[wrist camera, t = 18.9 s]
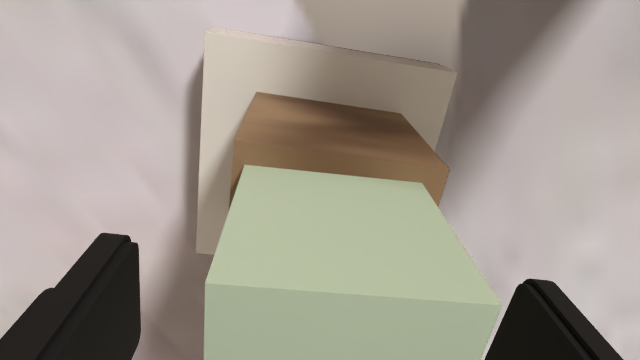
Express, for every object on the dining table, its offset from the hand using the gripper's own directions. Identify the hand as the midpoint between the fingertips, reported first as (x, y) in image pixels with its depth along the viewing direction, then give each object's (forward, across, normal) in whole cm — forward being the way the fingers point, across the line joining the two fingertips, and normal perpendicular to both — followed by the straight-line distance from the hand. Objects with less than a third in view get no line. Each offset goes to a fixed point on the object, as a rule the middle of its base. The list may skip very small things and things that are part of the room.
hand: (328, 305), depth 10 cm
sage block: (+2, 0, 0) cm, 2 cm away
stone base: (+11, 0, 0) cm, 11 cm away
